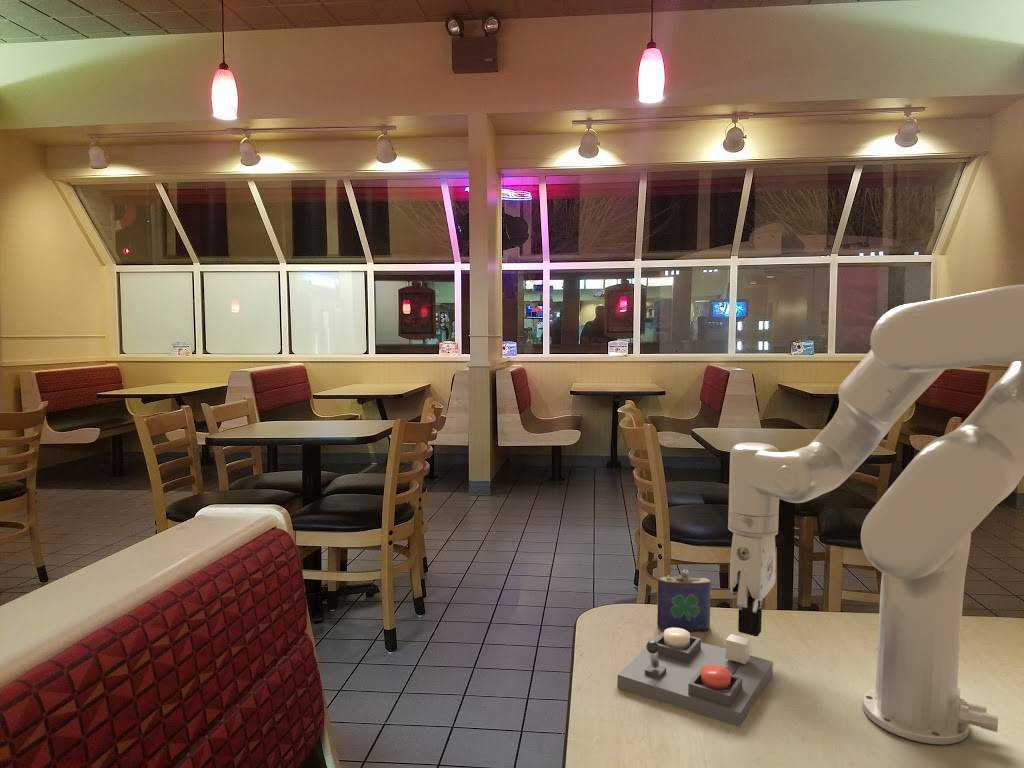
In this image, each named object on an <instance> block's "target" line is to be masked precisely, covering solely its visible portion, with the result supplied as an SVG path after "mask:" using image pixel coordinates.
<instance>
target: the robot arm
mask: <svg viewBox="0 0 1024 768" xmlns="http://www.w3.org/2000/svg"><path fill="white" fill-rule="evenodd" d="M1003 363H1004V364H1005V363H1010V365H1009V366H1008V368H1007V370H1006V371H1005V372H1004V374H1003V375H1002V376H1001V377H1000V379H999V380H998V381H997V382H996V383H995V384H994V385H993V386H992V387H991V388H990V390H989V391H987V393H986V394H985V396H984V397H983V399H982V400H981V401H980V402H979V404H978V405H977V406H976V407H975V409H974V410H973V411H972V412H971V413H970V414H969V415H968V417H966V418H965V420H964V421H963V422H962V423H961V424H960V425H958V427H956V429H954V430H953V431H950V432H948V433H946V434H944V435H942V436H939V437H938V438H936V439H934V440H932V441H931V442H929V443H928V444H927V445H925V446H924V447H923V448H922V449H920V451H919V452H918V453H917V454H916V455H915V456H914V457H913V459H911V461H910V462H909V463H908V464H907V466H906V467H905V468H904V469H903V470H902V472H901V473H900V474H899V476H898V477H897V478H896V479H895V480H894V482H893V483H892V484H891V485H890V487H889V488H888V489H887V490H886V491H885V493H883V495H882V497H880V498H879V500H878V501H877V502H876V503H875V505H874V506H873V507H872V508H871V509H870V510H869V513H867V515H866V516H865V519H864V520H863V522H862V526H861V531H860V543H861V544H860V545H861V548H862V551H863V553H864V555H865V557H866V558H867V560H868V561H869V563H870V564H871V565H872V567H874V568H875V569H877V570H878V571H879V572H881V582H880V594H879V610H878V611H879V616H878V635H877V654H876V655H877V656H876V676H875V687H873V688H870V689H869V690H867V691H865V693H863V695H862V703H861V704H862V709H863V712H864V713H865V715H866V716H867V717H868V718H869V719H870V720H871V721H872V722H873V723H875V724H876V725H878V726H879V727H880V728H882V729H884V730H886V731H888V733H889V732H890V733H892V734H894V735H897V736H899V737H900V738H901V737H902V738H905V739H907V740H910V741H914V742H919V743H923V744H928V745H929V744H931V745H952V744H956V743H959V742H961V741H962V742H963V741H964V740H965V739H966V738H967V737H968V735H969V734H970V725H971V726H975V727H978V728H979V727H980V728H981V729H983V730H986V731H991V732H995V733H998V729H999V727H998V726H999V716H997V715H994V714H990V713H987V711H988V710H987V708H988V707H987V706H985V705H981V704H978V703H971V702H967V701H966V699H964V698H961V688H959V686H958V685H959V684H958V682H959V669H960V668H959V666H960V651H961V632H962V617H963V605H964V604H963V602H964V594H965V591H964V590H965V581H966V573H967V568H968V562H969V555H970V550H971V549H970V548H971V540H972V539H971V538H972V532H973V531H974V530H975V529H976V528H977V527H978V526H979V524H980V523H981V522H982V521H983V520H985V518H986V517H987V516H988V515H989V514H990V513H991V512H992V511H993V510H994V508H995V507H996V506H997V505H998V504H1000V503H1001V502H1003V501H1004V500H1005V499H1006V498H1007V497H1008V496H1009V495H1010V494H1012V492H1013V491H1014V490H1015V489H1016V488H1017V486H1018V485H1019V483H1020V481H1021V480H1022V478H1023V477H1024V284H1011V285H1006V286H1002V287H1001V286H1000V287H994V288H989V289H984V290H980V291H974V292H970V293H963V294H959V295H954V296H953V295H951V296H948V297H941V298H937V299H931V300H924V301H917V302H911V303H906V304H902V305H898V306H896V307H894V308H893V307H892V308H891V309H890V310H888V311H887V312H885V313H884V314H882V316H881V317H880V318H879V319H878V320H877V321H876V323H875V324H874V326H873V328H872V330H871V334H870V349H869V351H868V353H866V355H865V356H864V358H862V359H861V361H859V363H858V364H857V365H856V366H855V368H854V369H852V371H851V372H850V373H849V374H848V375H847V376H846V377H845V379H844V380H843V381H842V382H841V384H840V385H839V387H838V391H837V394H838V395H837V396H838V400H839V401H838V402H839V403H838V406H837V407H838V408H837V410H836V411H835V413H834V415H833V417H832V418H831V420H830V421H829V422H828V423H827V424H826V426H824V428H823V429H822V430H821V431H820V432H819V434H818V435H817V436H816V437H815V438H814V439H813V440H812V441H811V442H810V443H809V444H808V445H807V446H802V447H800V448H796V449H793V450H788V451H783V452H782V451H781V452H780V450H779V448H778V447H776V446H774V445H772V444H768V443H763V442H740V443H737V444H734V446H732V448H731V450H730V452H729V453H730V454H729V476H728V477H729V480H728V481H729V482H728V485H729V486H728V513H727V515H728V518H727V519H728V521H727V523H728V524H727V529H728V530H729V531H730V532H731V533H732V540H731V552H730V562H729V590H730V593H731V594H732V595H733V596H735V595H737V598H736V599H737V602H736V607H738V619H737V620H738V624H737V631H738V632H739V633H740V634H745V635H748V636H753V637H758V636H759V635H760V634H761V633H762V617H763V615H762V613H763V609H762V605H763V599H764V598H765V597H766V596H767V595H768V594H769V592H771V590H772V589H773V587H774V586H775V583H776V581H777V580H776V576H777V575H776V574H777V573H776V572H777V570H776V569H777V568H776V567H777V563H776V562H777V560H776V557H777V556H776V536H777V535H778V534H779V515H780V514H779V513H780V512H779V511H780V510H779V509H780V508H779V507H780V500H782V501H784V502H788V503H791V504H792V503H793V504H800V503H802V504H803V503H806V502H809V501H811V500H813V499H816V498H818V497H820V496H821V495H824V494H826V493H829V492H831V491H834V490H835V489H837V488H838V487H840V486H841V485H842V484H843V483H845V481H846V480H847V479H848V478H849V477H850V476H851V475H852V474H853V473H855V471H856V470H857V469H858V468H859V467H860V466H861V465H862V464H863V463H864V462H865V461H866V459H867V458H869V456H870V455H872V453H873V451H874V450H875V449H876V448H877V447H878V445H880V442H881V441H882V440H883V439H884V437H886V435H887V434H888V433H889V432H890V431H891V429H892V427H893V426H894V424H895V423H896V422H897V421H898V420H899V419H900V418H901V417H902V415H903V414H904V413H905V412H906V411H907V410H908V409H909V408H910V407H911V406H912V405H913V404H914V403H915V402H916V401H917V399H919V397H920V396H921V395H922V394H923V393H924V392H925V391H926V390H927V389H928V388H929V387H930V386H931V385H932V384H934V382H936V380H937V379H938V377H940V375H942V374H943V373H944V371H946V370H951V369H952V370H953V369H963V368H970V367H978V366H987V365H993V364H994V365H995V364H996V365H997V364H1003Z"/></svg>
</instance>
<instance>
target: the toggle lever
mask: <svg viewBox="0 0 1024 768" xmlns="http://www.w3.org/2000/svg"><path fill="white" fill-rule="evenodd" d="M645 648H646V649H647V651H648V652H649V655H650V661H651V666H652V667H653V668H658V667H659V659H658V650H659V646H658V644H657V642H655V641H653V640H649V641H648V642H647V643H646V645H645Z"/></svg>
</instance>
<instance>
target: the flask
mask: <svg viewBox="0 0 1024 768" xmlns="http://www.w3.org/2000/svg"><path fill="white" fill-rule="evenodd" d="M681 572H682V573H681V574H679V575H677V576H674V575H673V576H670V575H669V574H668V575H667V576H661V577H660V578H658V579H657V608H656V609H657V616H656V619H657V623H656V624H657V629H658V630H660V631H661V632H664V631H665V630H666V629H668V628H681V629H685V630H687V631H688V632H689V633H699V632H700V633H703V632H708V631H709V630H710V628H711V591H712V590H711V589H712V584H711V583H712V581H711V580H710V579H709V578H706V577H695V578H694V577H691V576H690V575H691V573H690V570H689V569H686V568H684V569H682V570H681Z"/></svg>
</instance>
